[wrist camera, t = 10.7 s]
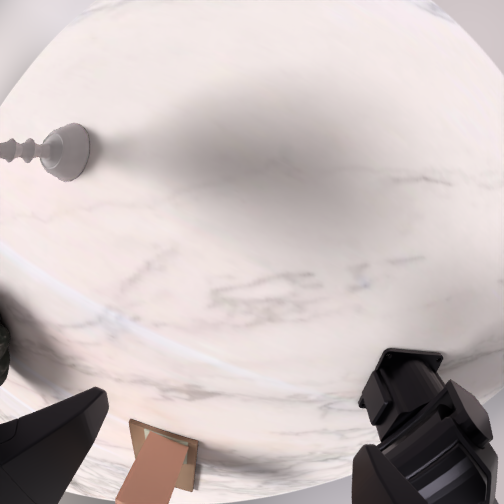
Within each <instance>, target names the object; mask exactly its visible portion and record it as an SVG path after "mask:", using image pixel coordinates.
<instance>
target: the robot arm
mask: <svg viewBox="0 0 504 504" xmlns="http://www.w3.org/2000/svg"><path fill="white" fill-rule="evenodd" d="M388 354H390V355H389V356H387V355H388ZM442 360H443V356H442V355H441V354H440V353H431V352H419V351H408V350H399V349H386V350H385V351H384V352H383V353H382V355H381V358H380V360H379V362H378V364H377V366H376V368H375V370H374V371H373V372H372V374H371V376H370V378H369V380H368V382H367V384H366V386H365V388H364V390H363V391H362V396H361V398H360V400H359V401H358V404H359V407H360V408H366V409H367V412H368V415H369V419H370V422H371V424H372V425H373V426H376V428H377V431H378V434H379V438H380V441H381V443H380V444H378V445H377V446H376V445H373V444H366V445H363V446H362V447H361V449H360V450H359V452H358V453H357V454H356V455H355V457H354V459H353V473H352V504H498V502H497V500H496V499H495V492H496V482H497V469H498V456H497V454H496V453H495V451H494V449H493V448H492V446H491V445H490V443H489V442H490V441H491V440H492V439H493V435H492V430H491V426H490V421H489V417H488V413H487V412H486V410H485V409H484V408H483V406H482V405H481V404H480V403H479V401H478V400H477V399H476V398H475V396H473V395H472V394H471V393H469V392H468V391H466V390H465V389H464V388H462V387H461V386H459V385H458V384H457V383H455V382H454V381H452V380H451V379H450V380H449V381H448V382H447V383H446V384H444V382H443V381H442V379H441V378H440V376H439V375H438V373H437V370H438V368H439V366H440V364H441V362H442ZM362 403H363V404H362ZM108 410H109V403H108V398H107V393H106V391H105V390H103V389H101V388H98V387H93V388H91V389H89V390H86V391H84V392H82V393H79V394H77V395H75V396H72V397H70V398H68V399H65V400H63V401H60V402H58V403H56V404H53V405H51V406H48V407H46V408H43V409H41V410H38V411H36V412H33V413H31V414H28V415H25V416H23V417H20V418H19V419H14V420H12V421H9V422H6V423H3V424H0V504H58V502H59V501H60V499H61V497H62V496H63V494H64V492H65V490H66V489H67V487H68V485H69V483H70V482H71V480H72V478H73V477H74V475H75V473H76V472H77V470H78V468H79V467H80V465H81V463H82V462H83V460H84V458H85V457H86V455H87V453H88V452H89V450H90V448H91V447H92V445H93V443H94V441H95V439H96V437H97V435H98V432H99V430H100V428H101V426H102V423H103V421H104V419H105V417H106V415H107V412H108Z"/></svg>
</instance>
